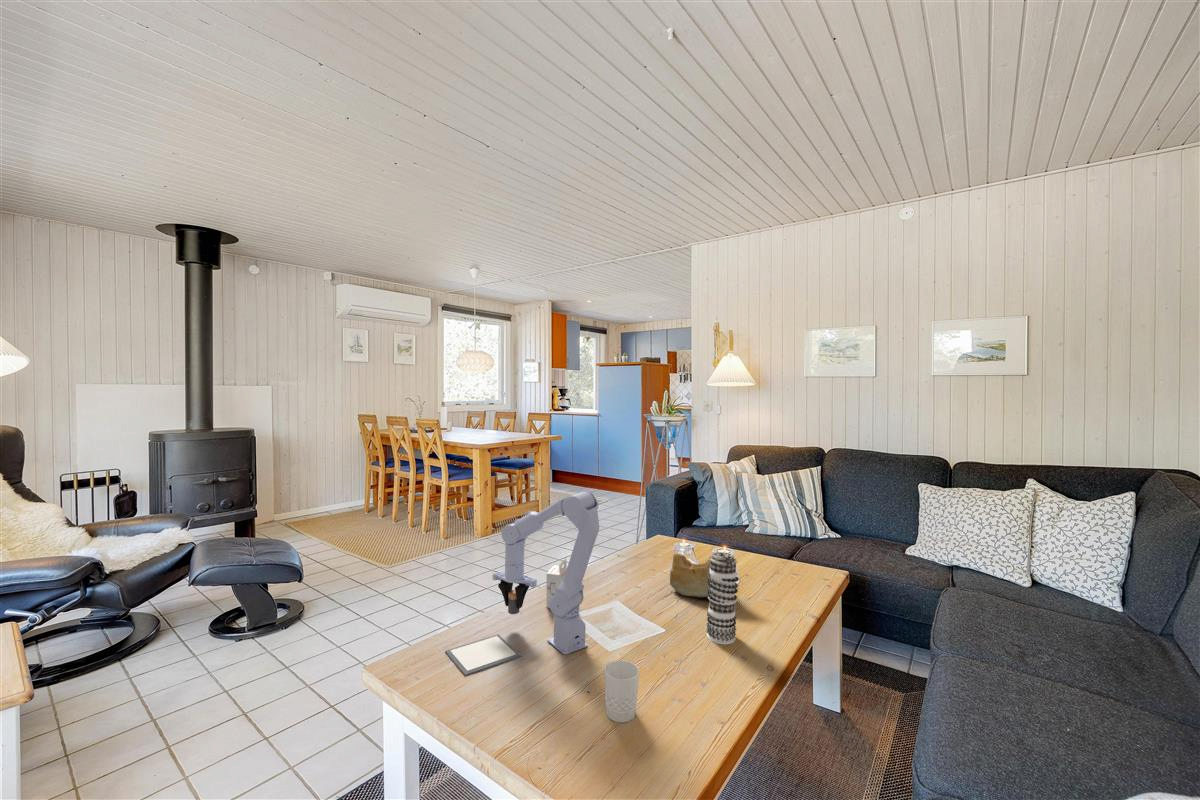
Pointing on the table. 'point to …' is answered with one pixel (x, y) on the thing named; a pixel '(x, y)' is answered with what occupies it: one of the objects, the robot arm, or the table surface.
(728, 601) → the decorative candle
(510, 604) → the orange-topped grey cylinder
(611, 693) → the white cup
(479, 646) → the writing pad
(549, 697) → the table surface
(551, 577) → the ink cartridge box
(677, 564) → the rough brown rock
